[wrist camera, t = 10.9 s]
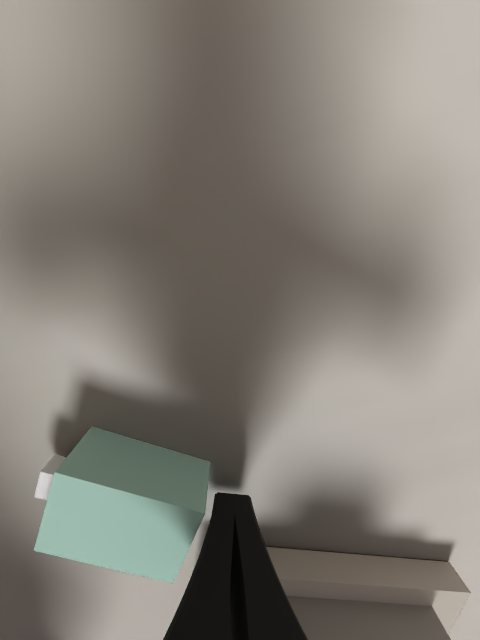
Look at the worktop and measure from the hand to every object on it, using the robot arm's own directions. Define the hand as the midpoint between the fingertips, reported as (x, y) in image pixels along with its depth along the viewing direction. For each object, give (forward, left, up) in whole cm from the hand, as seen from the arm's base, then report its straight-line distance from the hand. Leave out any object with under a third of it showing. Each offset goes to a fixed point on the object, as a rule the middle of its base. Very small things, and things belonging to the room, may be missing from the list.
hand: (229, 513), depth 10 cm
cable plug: (0, +4, -1) cm, 4 cm away
